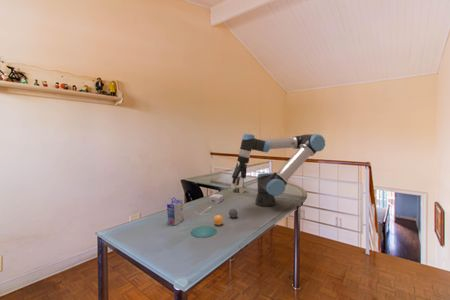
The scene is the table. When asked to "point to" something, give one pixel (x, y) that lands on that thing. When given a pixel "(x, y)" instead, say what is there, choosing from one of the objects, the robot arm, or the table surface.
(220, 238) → the table surface
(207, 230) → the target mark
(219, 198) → the charger
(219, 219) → the object ball
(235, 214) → the dark grey ball
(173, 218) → the ink cartridge box
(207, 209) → the crossbow
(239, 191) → the coffee can
